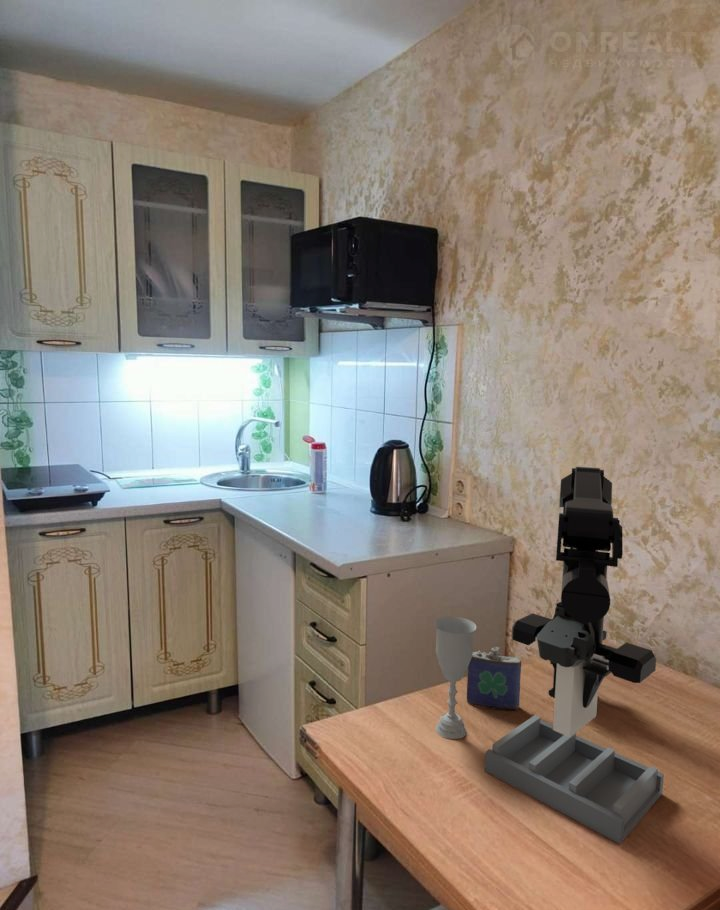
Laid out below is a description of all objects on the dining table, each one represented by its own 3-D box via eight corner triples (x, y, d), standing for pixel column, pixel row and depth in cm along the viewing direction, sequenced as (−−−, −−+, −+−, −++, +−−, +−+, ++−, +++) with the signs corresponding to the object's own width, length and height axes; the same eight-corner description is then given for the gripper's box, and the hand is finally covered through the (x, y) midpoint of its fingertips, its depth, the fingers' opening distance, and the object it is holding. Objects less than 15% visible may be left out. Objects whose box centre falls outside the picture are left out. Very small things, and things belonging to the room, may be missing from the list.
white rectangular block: (552, 729, 86) (556, 661, 85) (579, 709, 92) (584, 644, 91) (569, 737, 85) (574, 667, 83) (596, 716, 90) (600, 650, 89)
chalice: (426, 718, 105) (429, 616, 103) (465, 717, 106) (469, 616, 104) (435, 743, 98) (439, 634, 96) (477, 742, 99) (482, 633, 97)
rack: (484, 770, 91) (485, 745, 91) (534, 734, 101) (535, 711, 101) (619, 844, 77) (621, 814, 77) (662, 794, 87) (664, 767, 87)
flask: (519, 705, 110) (522, 647, 109) (518, 713, 108) (521, 654, 106) (467, 697, 113) (469, 641, 112) (465, 705, 110) (467, 647, 109)
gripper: (492, 592, 87) (488, 697, 89) (626, 632, 74) (617, 755, 76) (534, 575, 95) (529, 673, 97) (661, 609, 82) (652, 721, 83)
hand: (576, 702), depth 88 cm, fingers closed on white rectangular block, 2 cm apart
